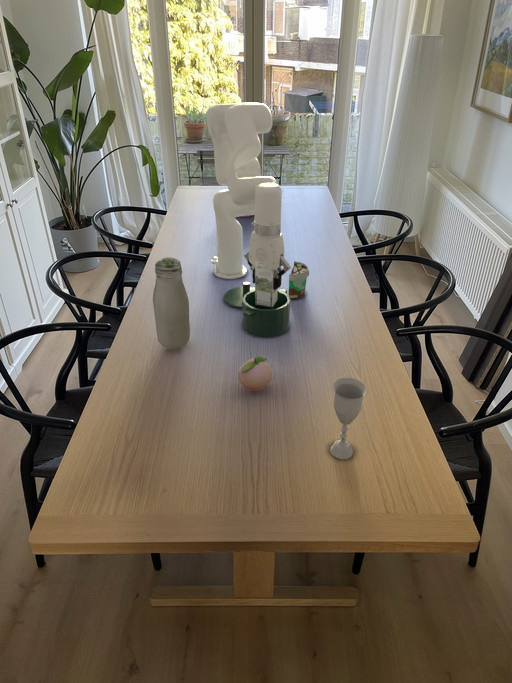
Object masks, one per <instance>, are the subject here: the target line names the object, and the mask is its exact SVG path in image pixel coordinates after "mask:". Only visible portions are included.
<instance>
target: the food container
mask: <svg viewBox="0 0 512 683" xmlns="http://www.w3.org/2000/svg"><path fill="white" fill-rule="evenodd" d="M309 276H310V270H309V267H308V265H307V264H305V263H304V262H300V261H297V260H296V261H295V260H294V261H293V266H292V267H291V271H290V273H289V274H288V296H289V298H290V301H293V300H299V299H302V298H303V297H304V296H305V294H306V285H307V280H308V277H309Z"/></svg>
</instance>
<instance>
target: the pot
mask: <svg viewBox="0 0 512 683" xmlns="http://www.w3.org/2000/svg"><path fill="white" fill-rule="evenodd" d="M287 293H288V290H287V289H283V288H279V289H277V301H276V303H275V304H274V306H273V307H266V306H260V305H255V290H253V291H250V292H248V293H247V294H245V295H244V297H243V308H242V328H243V330H244V331H245V332H246V333H247V334H249V335H251V336H253V337H257V338H265V339H267V338H276V337H280V336H282V335H284V334H285V333H286V332H287V331H288V330H289V327H290V315H291V300H290V298H289V294H287Z"/></svg>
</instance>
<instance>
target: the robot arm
mask: <svg viewBox="0 0 512 683" xmlns="http://www.w3.org/2000/svg"><path fill="white" fill-rule="evenodd" d="M205 115H206V116H205V117H206V118H205V119H206V120H205V121H206V126H207V130H208V133H209V136H210V138H211V140H212V144H213V159H214V160H213V161H214V174H215V179H216V182H217V184H218V185H220V186H222V187H227V189H223V190H219V191H217V192H216V193H214V195H213V197H212V206H213V212H214V216H215V217H214V218H215V226H216V229H215V230H216V253H217V254H216V255H217V256H213V257H212V259H211V261H210V263H211V264H212V265H215V267H214V269H213V273H214V276H216V277H218V278H220V279H224V280H236V279H240V278H243V277H244V276H246V275H247V274H248V269H247V267H246V266H245V265H244V259H245V260H246V262H247V265H248V266H249V267H250V270H251V271H252V272H251V274H252V278H251V279H252V284H255V262H256V261H257V262H259V263H261V264H264V268H266V269H269V270H274V275H275V277H274V278H273V289H274V290H276V289H277V290H279V289H280V288H281V286H282V277H283V276H284V275H285V274H286V273H288V271H289V270H291V269H292V266H291V265H290V264H289V262H288V261H287V260H286V258H285V246H284V245H285V244H284V237H283V234H282V199H283V190H282V187H281V186H280V185H279V183H278V181H277V179H276V178H274V177H273V176H270V175H269V176H268V175H267V176H262V170H261V169H262V168H261V164H260V162H259V160H258V157H259V156H260V154H261V152H262V143H261V140H260V137H259V135H260V134H268V133H270V131H271V130H272V128H273V123H274V122H273V121H274V120H273V115H272V112H271V109H270V108H269V107H268V105H267V104H265V103H260V102H228V103H217V104H213V105H211V106H209V107H208V108H207V110H206V114H205ZM247 215H253V216H254V220H252V222H251V226H252V227H253V228H254V229H253V230H252V232H251V235H250V239H249V248H248V252H246V254H244V252H243V251H244V250H243V246H244V245H243V240H244V238H243V227H242V225H241V223H240V222H239V221H238V220H237V219H236V218H238V217H242V216H247ZM247 217H248V216H247ZM243 255H244V256H243ZM282 267H283V268H282ZM277 269H278V271H277Z"/></svg>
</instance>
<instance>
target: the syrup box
mask: <svg viewBox="0 0 512 683" xmlns="http://www.w3.org/2000/svg"><path fill="white" fill-rule="evenodd" d="M277 271H278V269H277ZM274 277H275V275H274V270H269V269H266V268H264V264H261V263H259V262H257V261H256V262H255V283H254V284H255V285H254V287H255V305H260V306H266V307H273V306H274V304H275V303H276V301H277V290H278V289H276V290H274V289H273V278H274Z"/></svg>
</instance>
